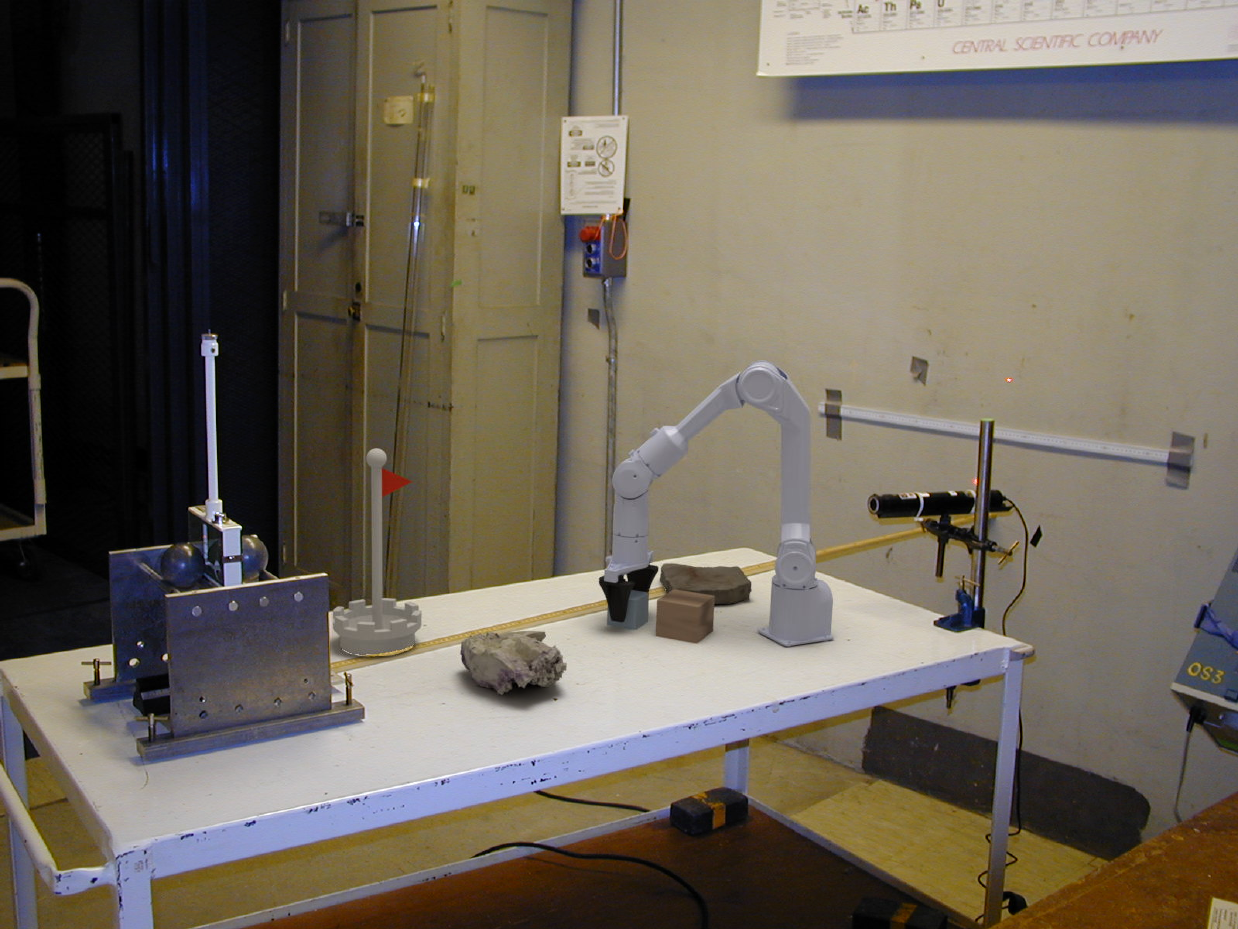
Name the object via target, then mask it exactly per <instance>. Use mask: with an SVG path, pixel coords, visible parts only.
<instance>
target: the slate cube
mask: <svg viewBox="0 0 1238 929" xmlns="http://www.w3.org/2000/svg"><path fill="white" fill-rule="evenodd" d="M649 597H650V592H649V593H647V592H641V591H635V590H632V591H631V593H630V596H629V600H628V606H627V613H626V618H625V621H624V622H622V623H621V622H616V621H611V617H610V613H609V608H608V607H607V611H606V614H607V615H606V625H607V626H610V627H616V628H621V629H626V630H627V629H628V630H631V631H636V630H637V629H639V628H640V627H642V626H644V625H645V624H646V623H648V622H649V621H648V620H649V600H650V598H649Z"/></svg>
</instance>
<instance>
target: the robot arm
mask: <svg viewBox="0 0 1238 929" xmlns="http://www.w3.org/2000/svg"><path fill="white" fill-rule="evenodd" d="M790 378H791V377H789V375H788V374H787V372H785V371H784V370H783V369H781V368H780V367H779V366H777V365H776V364H775V363H773V362H771V361H768V360H763V359H761V360H756V361H753V362H752V363H750V364H749V365H747V367H746V368H745V369H744V371H743V373H742V371H739V372H738V373H736V374H735V375H733V376H731V377H730V378H728V379H727V380H726V381H724V382H722V383H721V384H720V385H719V386H718V387H716V388H715V389H714V390H713V391H712V392H711V393H710V394H709V395H707V397H706V398H705V399H703V400H702V402H700V403H699V404H698V405H697V406H696V407H695V408H694V409H692V411H691V412H690V413H688V414H687V415H686V416H685V418H683V419H682V420H681V421H680V422H678V424H677V425H663V426H662V427H660V428H658V427H655V428H654V429H653V430H652V431H651V432H650V433H649V435H650V438H648V439H647V440H646V441H645V442H644V443H643V444H641V446H640V447H638V448H637V449H636V450H635V449H632V450H631V451H630V452H629V453H628V456H629V458H627V459H624V460H623V461H622V462H621V463H619V464H618V466H617V467H616V468H615V470H614V472H613V473H612V479H611V482H612V483H611V484H612V487H613V489H614V491H615V492H614V504H613V515H612V516H613V518H612V520H613V521H612V545H611V546H612V549H611V552H612V554H611V555H608V556H606V557H605V562H606V563H608V565H607V567H606V568H605V569H604V571H603V572H604V575H603V574H602V576H600V577H598V585H599V587H600V589H601V590H602V592H603V595H604V597H605V599H606V603H607V609H608V608H609V613H610V617H611V621H616V622H621V623H622V622H624V621H625V618H626V613H627V606H628V600H629V596H630V593H631V591H632V590H635V591H641V592H647V593H649V594H650V589H651V586H652V585H653V581H654V580H655V577H656V576H657V575H658V572H659V566H657V565H653V562H654V550H649V526H650V504H649V497H650V496H649V495H650V490H649V488H650V487H651V486H652V484H653V481H654V480H658V479H660V478H661V477H663V475H664V474H666V473H667V472H668V471H669V470H670V469H671V468H672V467H674V466H675V465H676V464H677V463H678V462H679V461H680V460H682V459H683V458H684V457H685V456H686V455H688V453H689V443H690V441H691V440H692V439H693V438H694V437H695V436H696V435H698V434H699V433H701V431H702V430H704V429H705V428H706V427H707V426H709V425H710V424H711V423H713V421H714V420H716V419H717V418H718V417H719V416H720V415H722V414H723V413H724V412H726V411H729V410H733V409H734V410H736V409H741V408H743V407H744V405H745V404H747V405H750V406H751V407H754V408H755V409H758V410H761V411H763V412H766V413H767V415H769V417H771V418H772V419H774V421H775V422H777V423H778V424H779V425H780V430H781V431H780V441H781V442H780V447H781V448H780V451H781V452H780V460H781V461H780V464H781V466H780V467H781V468H780V469H781V470H780V471H781V472H780V473H781V474H780V475H781V476H780V478H781V479H780V481H781V483H780V484H781V486H780V487H781V488H780V489H781V490H780V492H781V495H780V496H781V504H780V505H781V506H780V507H781V525H780V526H781V528H780V530H781V531H780V532H781V533H780V542H779V544H778V547H777V550H776V560H775V564H774V572H775V575H773V576H772V577H771V589H770V604H769V605H770V606H769V622H768V623H769V626H768V627H762V628H761V627H760V628H758V629H757V633H759V634H761V635H763V636H765V637H766V638H769V639H771V640H772V641H773V642H774V641H775V642H776V643H778V644H780V645H782V646H784V647H791V646H799V645H803V644H804V645H805V644H811V643H818V642H823V641H829V640H834V638H835V637H834V635H833V634H832V621H833V606H834V605H833V603H834V598H833V593H832V592H833V591H832V590H831V587H830V586H829V584H828V583H827V582H826V581H825V580H822V579H818V578H817V577H816V572H817V565H816V564H817V563H816V561H817V549H816V547H815V545H814V542H813V540H812V537H811V410H810V406H809V405H808V403H807V401H805V399H804V398H803V396H802V395H801V394H800V392H799V390H798V389H797V387H796V386H795V384H794V383H793V382H792V380H791V379H790ZM625 575H626V578H625Z"/></svg>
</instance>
